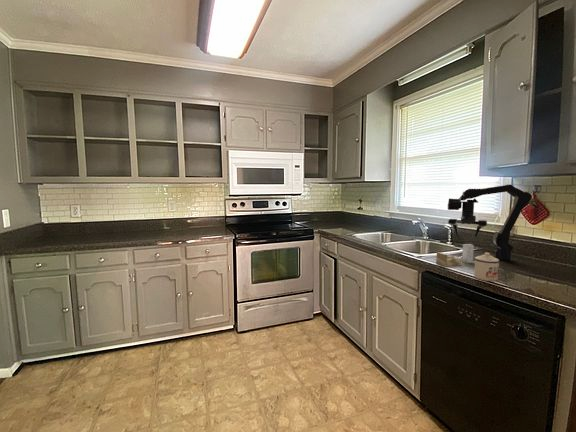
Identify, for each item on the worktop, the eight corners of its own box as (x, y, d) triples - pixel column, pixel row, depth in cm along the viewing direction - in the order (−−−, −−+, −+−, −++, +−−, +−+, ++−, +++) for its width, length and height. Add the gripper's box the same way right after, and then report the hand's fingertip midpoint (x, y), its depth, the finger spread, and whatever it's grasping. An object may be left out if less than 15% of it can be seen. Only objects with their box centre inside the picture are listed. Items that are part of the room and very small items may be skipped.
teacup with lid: (488, 282, 120) (490, 256, 119) (468, 276, 129) (470, 251, 128) (507, 279, 124) (509, 253, 123) (487, 273, 133) (489, 249, 132)
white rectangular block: (468, 261, 154) (469, 243, 154) (472, 263, 152) (473, 244, 151) (462, 262, 154) (462, 244, 153) (466, 263, 151) (467, 245, 150)
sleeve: (452, 261, 154) (452, 251, 153) (461, 264, 148) (461, 253, 148) (436, 263, 152) (436, 252, 151) (444, 266, 146) (445, 254, 145)
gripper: (447, 210, 162) (446, 237, 163) (486, 212, 151) (485, 240, 152) (450, 209, 171) (449, 234, 172) (487, 210, 160) (485, 237, 161)
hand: (466, 236), depth 164 cm, fingers open, 9 cm apart
